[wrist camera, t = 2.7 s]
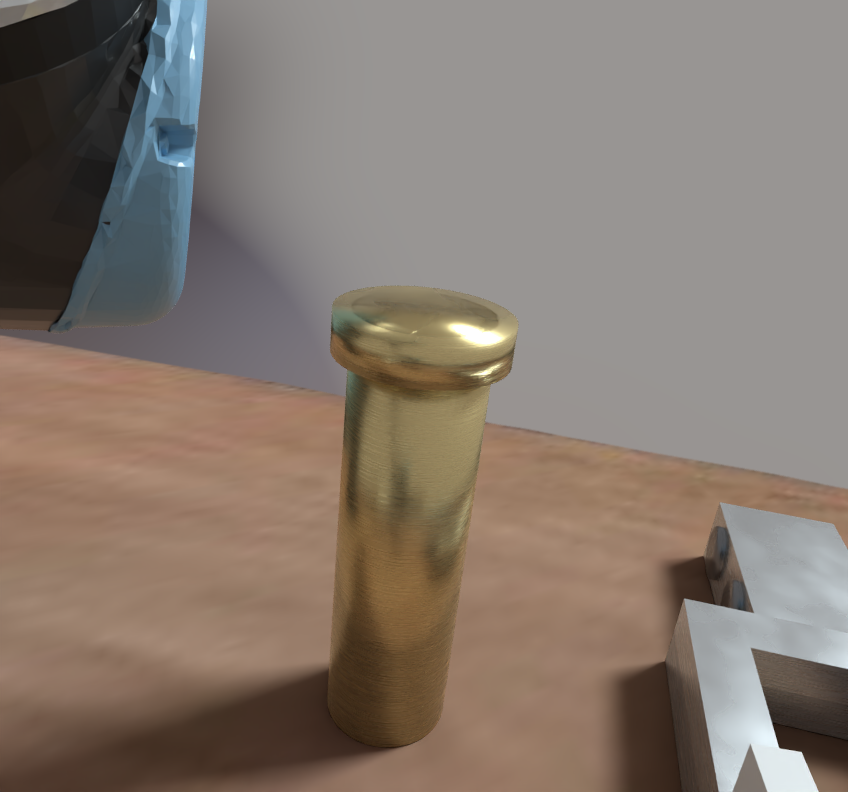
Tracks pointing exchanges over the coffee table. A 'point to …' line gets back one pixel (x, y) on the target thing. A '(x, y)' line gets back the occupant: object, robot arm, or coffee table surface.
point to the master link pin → (406, 496)
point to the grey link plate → (759, 643)
